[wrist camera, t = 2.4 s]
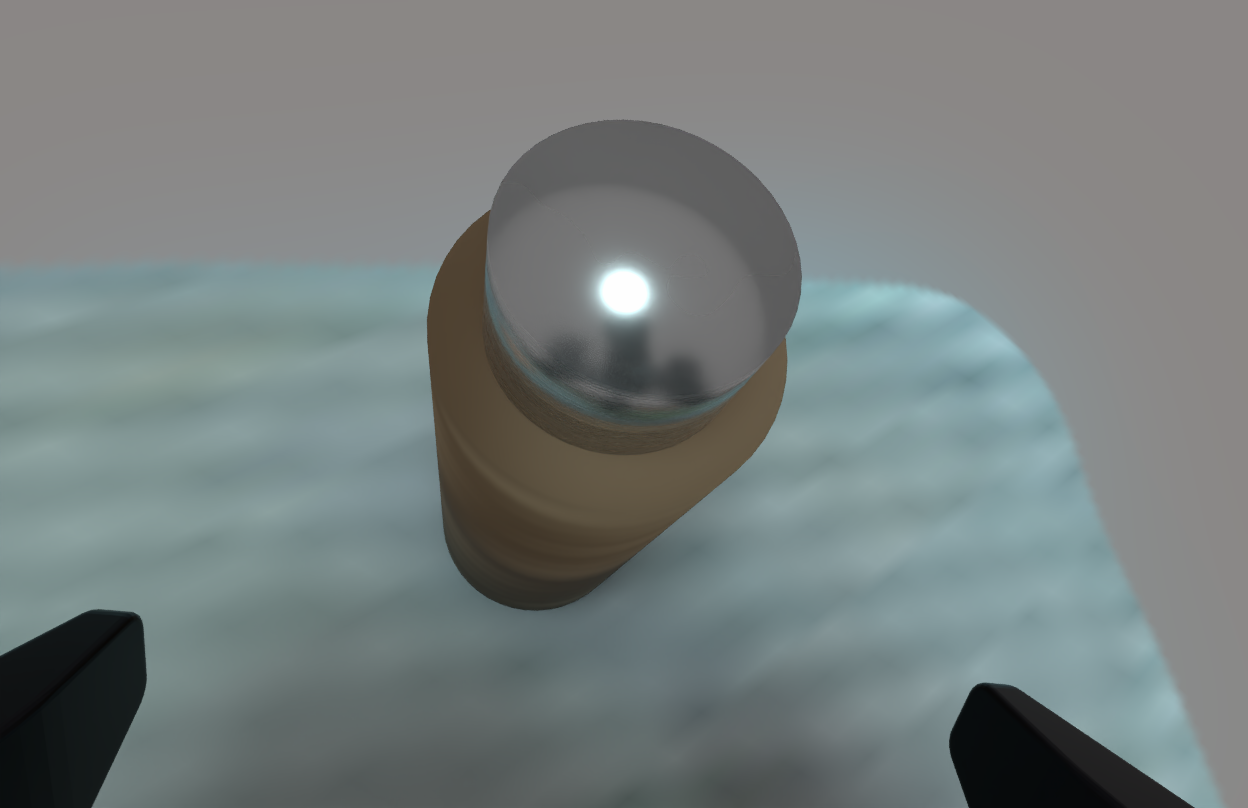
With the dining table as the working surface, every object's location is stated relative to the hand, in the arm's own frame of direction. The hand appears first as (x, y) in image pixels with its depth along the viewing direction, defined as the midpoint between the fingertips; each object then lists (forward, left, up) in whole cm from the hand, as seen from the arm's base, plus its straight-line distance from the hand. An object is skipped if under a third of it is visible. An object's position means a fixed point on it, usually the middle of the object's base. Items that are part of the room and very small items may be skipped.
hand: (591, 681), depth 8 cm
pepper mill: (+2, -4, -11) cm, 12 cm away
